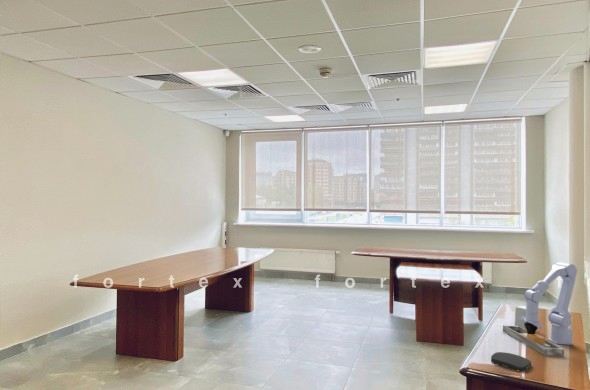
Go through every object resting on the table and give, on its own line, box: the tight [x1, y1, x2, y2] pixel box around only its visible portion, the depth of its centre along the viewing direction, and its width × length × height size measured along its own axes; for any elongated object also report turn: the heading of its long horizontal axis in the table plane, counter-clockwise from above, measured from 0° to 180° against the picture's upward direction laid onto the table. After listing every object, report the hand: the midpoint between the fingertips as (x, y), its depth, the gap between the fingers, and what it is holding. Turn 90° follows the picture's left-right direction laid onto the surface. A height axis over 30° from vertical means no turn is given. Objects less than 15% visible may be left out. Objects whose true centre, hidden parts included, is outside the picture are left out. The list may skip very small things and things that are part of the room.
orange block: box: [527, 333, 546, 344], centre depth 210 cm, size 6×6×3 cm
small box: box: [514, 305, 527, 329], centre depth 240 cm, size 8×6×13 cm
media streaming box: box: [490, 351, 532, 372], centre depth 183 cm, size 15×15×3 cm
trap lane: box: [502, 324, 565, 357], centre depth 214 cm, size 10×36×4 cm, turn 3°
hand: (530, 337), depth 214 cm, fingers closed
